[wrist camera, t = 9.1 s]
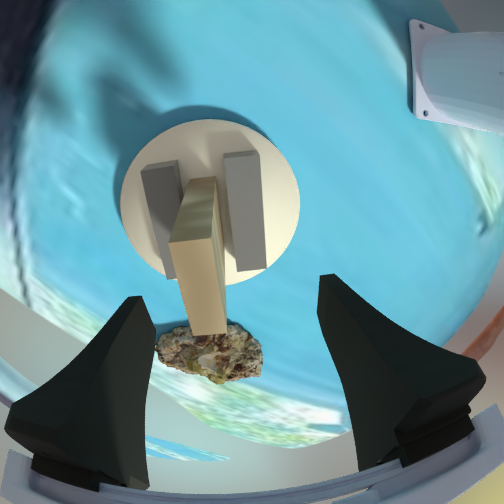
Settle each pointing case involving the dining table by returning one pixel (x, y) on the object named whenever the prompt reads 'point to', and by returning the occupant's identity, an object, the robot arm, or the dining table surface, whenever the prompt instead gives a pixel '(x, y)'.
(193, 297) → the wooden block
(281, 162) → the clip base
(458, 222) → the dining table surface
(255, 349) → the mineral rock
